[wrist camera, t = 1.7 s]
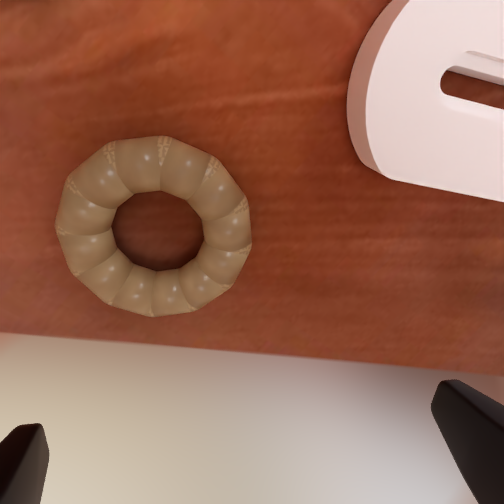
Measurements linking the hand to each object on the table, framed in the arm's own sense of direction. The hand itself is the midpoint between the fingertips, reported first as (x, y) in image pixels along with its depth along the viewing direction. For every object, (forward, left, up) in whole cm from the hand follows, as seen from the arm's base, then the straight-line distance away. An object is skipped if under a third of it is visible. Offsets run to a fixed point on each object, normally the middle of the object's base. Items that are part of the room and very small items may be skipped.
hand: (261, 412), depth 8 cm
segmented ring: (+3, +2, -11) cm, 12 cm away
